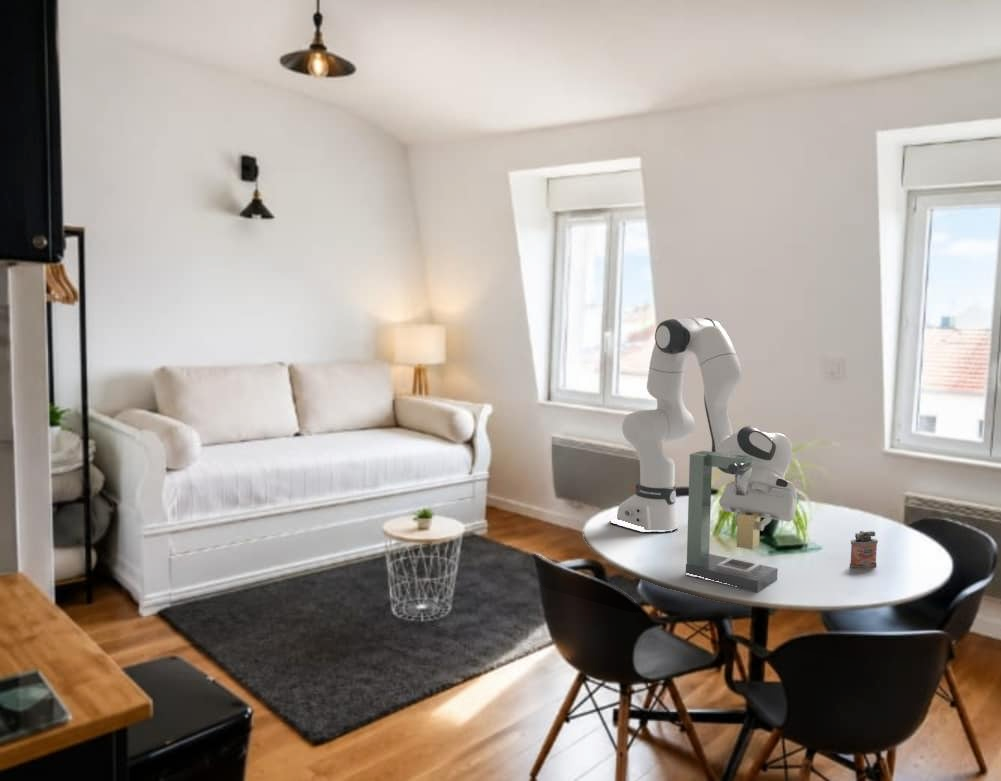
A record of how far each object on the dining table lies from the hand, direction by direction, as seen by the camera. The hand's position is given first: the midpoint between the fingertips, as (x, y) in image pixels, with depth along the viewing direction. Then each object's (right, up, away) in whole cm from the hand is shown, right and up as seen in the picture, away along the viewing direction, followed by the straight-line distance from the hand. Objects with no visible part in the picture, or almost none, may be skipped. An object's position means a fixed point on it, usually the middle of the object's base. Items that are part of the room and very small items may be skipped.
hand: (748, 527), depth 216 cm
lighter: (+35, -13, +9) cm, 38 cm away
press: (-7, -13, -3) cm, 15 cm away
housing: (0, -5, 0) cm, 5 cm away
